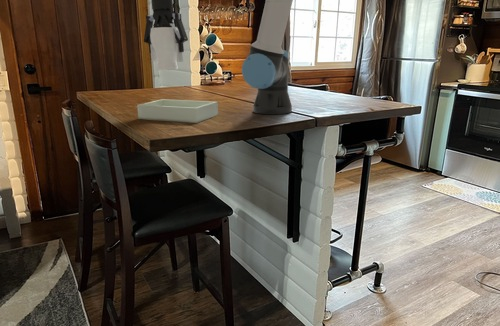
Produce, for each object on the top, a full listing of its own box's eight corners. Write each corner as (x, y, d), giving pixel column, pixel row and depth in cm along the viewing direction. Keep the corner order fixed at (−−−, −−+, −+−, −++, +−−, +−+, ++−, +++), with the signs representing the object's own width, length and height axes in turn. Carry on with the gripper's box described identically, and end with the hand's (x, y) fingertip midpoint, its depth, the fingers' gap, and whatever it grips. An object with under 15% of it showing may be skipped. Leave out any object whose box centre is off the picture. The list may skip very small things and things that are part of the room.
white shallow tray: (217, 115, 144) (217, 101, 143) (197, 122, 130) (196, 108, 128) (163, 111, 153) (162, 99, 151) (138, 118, 138) (137, 105, 137)
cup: (175, 70, 139) (171, 26, 135) (148, 71, 142) (144, 28, 137) (186, 68, 149) (183, 27, 145) (161, 69, 152) (157, 29, 147)
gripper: (194, -3, 137) (198, 61, 143) (142, 1, 146) (148, 61, 152) (183, -6, 131) (188, 61, 137) (129, -1, 139) (136, 62, 146)
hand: (167, 61), depth 145 cm, fingers closed on cup, 10 cm apart
